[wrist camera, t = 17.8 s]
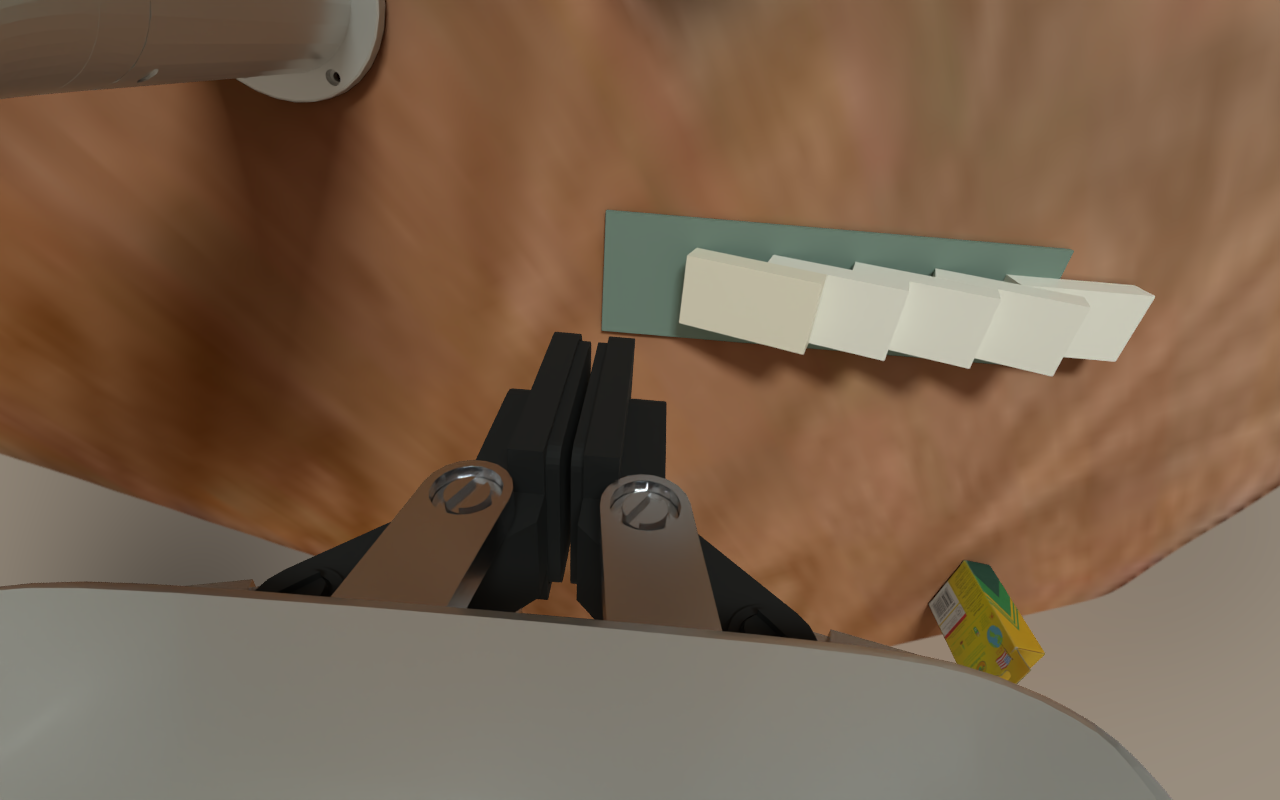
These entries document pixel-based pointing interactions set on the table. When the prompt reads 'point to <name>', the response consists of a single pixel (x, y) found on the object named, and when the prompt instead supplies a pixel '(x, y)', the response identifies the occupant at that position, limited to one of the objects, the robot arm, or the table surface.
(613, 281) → the plate
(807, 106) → the table surface
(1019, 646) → the crayon box
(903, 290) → the domino
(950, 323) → the domino
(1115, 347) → the domino
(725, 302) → the domino
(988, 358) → the domino
